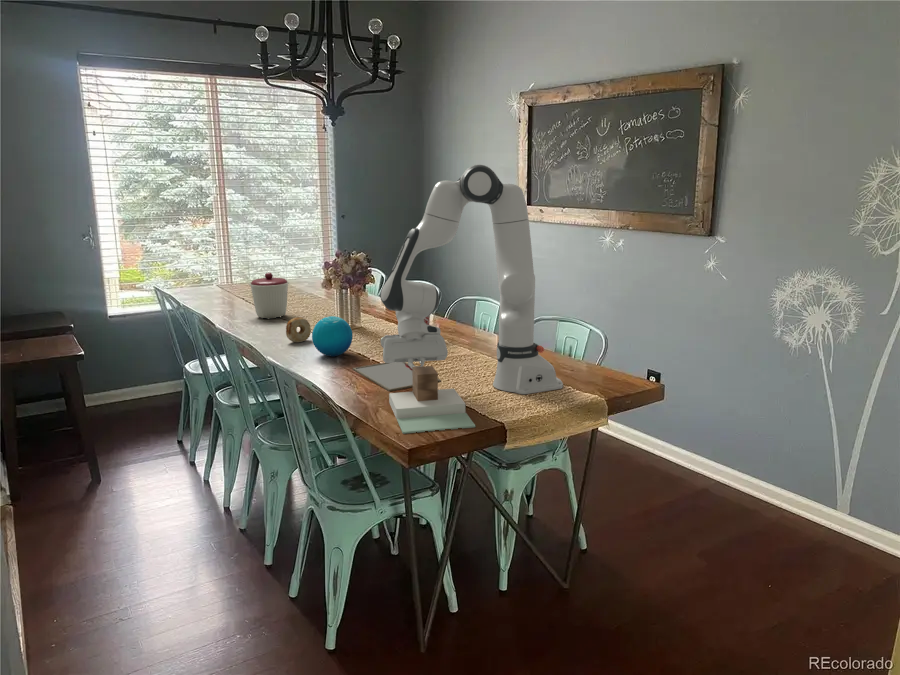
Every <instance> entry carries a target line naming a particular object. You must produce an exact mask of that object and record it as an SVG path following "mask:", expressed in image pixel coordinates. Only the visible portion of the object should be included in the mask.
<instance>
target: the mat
mask: <svg viewBox="0 0 900 675" xmlns="http://www.w3.org/2000/svg"><path fill="white" fill-rule="evenodd" d="M396 421H397V424H398V426H399V427H400V431H401V433H402V434H405V435H406V434H414V433H416V432H417V433H426V432H425V431H428V432H436V431H435V430H439V431H446V430H445V429H451V430H459V429H458V428H462V429H471V428H476V424H475V423H474V421H473V420H472V418H470V416H469V415H468V413H467V412H465V413H460V414H448V415H436V416H424V417H412V418H400V419H396Z"/></svg>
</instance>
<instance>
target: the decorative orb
mask: <svg viewBox="0 0 900 675" xmlns="http://www.w3.org/2000/svg"><path fill="white" fill-rule="evenodd" d="M311 341H312V343H313V345H314V346H313V347H314V348H315V349H316V350H317V351H318V352H319V353H320V354H322V355H324V356H327V357H337V356H340V355H342V354H343V355H344V353H345V352H347V351H348V350H349V348H351V345H352V343H353V330H352V328H351V326H350V324H349V323H348V322H347V321H346V320H345V319H343V318H342V317H338V316H336V315H335V316H332V315H331V316H325V317H323V318H322V319H320V320H318V321H317V323H315V325H314V327H313V329H312V331H311Z"/></svg>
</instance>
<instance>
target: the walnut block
mask: <svg viewBox="0 0 900 675" xmlns="http://www.w3.org/2000/svg"><path fill="white" fill-rule="evenodd" d="M412 376H413V387H412V392H413V394H414V396H415V398H416V399H417V401H428V400H438V390H439V382H438V379H439V377H438V376H439V374H438V371H437V370H436V369H435V368H434V366H433V365H425V366H424V365H423V366H422V367H412Z"/></svg>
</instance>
